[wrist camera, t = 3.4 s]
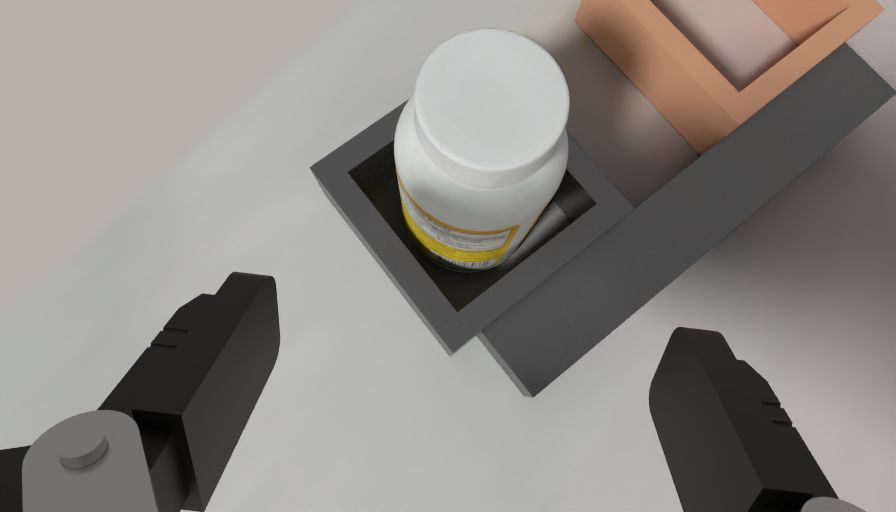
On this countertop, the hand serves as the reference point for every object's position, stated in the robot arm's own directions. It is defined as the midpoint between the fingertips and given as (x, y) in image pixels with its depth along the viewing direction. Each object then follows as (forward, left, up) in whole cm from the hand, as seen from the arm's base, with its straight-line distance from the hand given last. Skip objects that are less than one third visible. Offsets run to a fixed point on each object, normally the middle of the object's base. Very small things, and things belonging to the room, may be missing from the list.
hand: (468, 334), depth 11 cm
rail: (-6, -10, -11) cm, 15 cm away
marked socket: (-10, -16, -11) cm, 22 cm away
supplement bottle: (0, -6, -11) cm, 13 cm away
